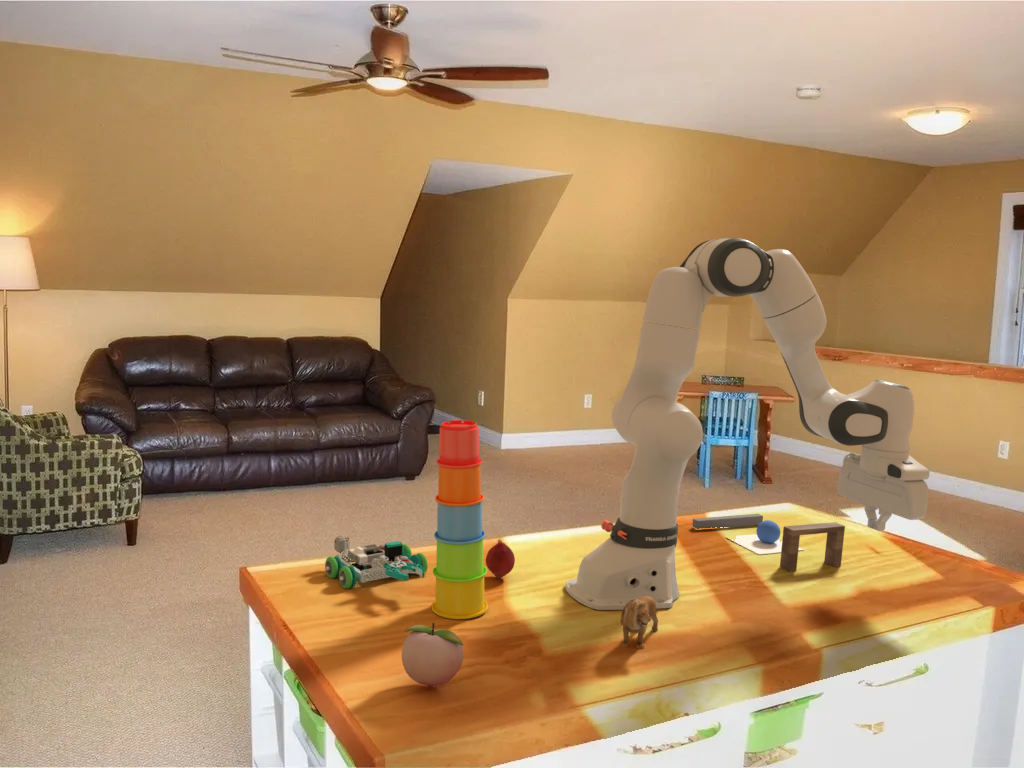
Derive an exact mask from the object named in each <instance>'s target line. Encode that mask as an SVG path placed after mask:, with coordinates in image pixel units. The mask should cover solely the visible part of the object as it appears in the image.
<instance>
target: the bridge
mask: <svg viewBox="0 0 1024 768" xmlns="http://www.w3.org/2000/svg"><path fill="white" fill-rule="evenodd" d="M845 529H846V526H845V525H843V524H841V523H839V522H836V521H835V522H834V521H833V522H820V523H808V524H797V525H785V526H783V531H782V538H781V539H782V549H781V553H780V563H779V568H781V569H783V570H786V571H787V572H797V568H798V557H799V551H798V549H799V548H800V537H801V536H804V535H818V534H819V535H820V534H826V540H825V541H826V542H825V550H824V551H825V552H824V560H823V562H824V563H825V564H827V565H829V566H832V567H834V568H835V567H841V566H842V558H843V550H844V549H843V548H844V540H845V539H844V538H845Z"/></svg>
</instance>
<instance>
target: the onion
mask: <svg viewBox="0 0 1024 768" xmlns="http://www.w3.org/2000/svg"><path fill="white" fill-rule="evenodd" d="M515 561H516V559H515V554H514V552H513V549H511V548H510V546H508V544H506V543H504V542H503V540H502V539H500V538H499V539H498V540H497V543H496V544H494V545H493V546H492V547H491V548H490V549H488V551H487V554H486V557H485V565H486V568H487V570H489V572H491V574H492V575H493V576H494V577H495V578H497V579H501V578H503V577H504V576H506V575H508V574H509V573H511V572H512V571H513V568H514V566H515V563H516V562H515Z"/></svg>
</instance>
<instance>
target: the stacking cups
mask: <svg viewBox="0 0 1024 768" xmlns="http://www.w3.org/2000/svg"><path fill="white" fill-rule="evenodd" d="M477 424H478V423H477V422H476V421H472V420H466V419H455V420H453V419H452V420H447V421H444V422H442V423H441V425H440V427H439V459H437V460H436V464H437V465H438V484H437V486H438V490H437V491H438V494H437V495H436V496H435V497H434V500H435V502H437V524H436V525H437V526H436V528H437V529H436V531H435V532H434V534H433V535H434V536H433V537H434V539H435V540H436V564H435V566H434V567H433V569H432V574H433V576H434V577H435V600H433V602H432V604H431V610H432V612H433V613H435V615H437V616H439V617H442V618H444V619H451V620H470V619H475V618H477V617H480V616H482V615H483V614H485V613H486V612H487V610H488V608H489V605H488V602H487V600H485V576H486V575H487V573H488V567H487V566H485V565H484V538H485V537H486V533H485V531H484V530H483V509H482V506H483V505H482V504H483V502H484V499H485V496H484V495H483V494H482V491H481V490H482V486H481V485H482V483H481V481H482V480H481V479H482V478H481V476H482V475H481V464H482V463H483V460H482V459H481V458H480V427H479V426H478V425H477Z"/></svg>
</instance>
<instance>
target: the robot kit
mask: <svg viewBox="0 0 1024 768" xmlns="http://www.w3.org/2000/svg"><path fill="white" fill-rule="evenodd" d="M349 539H350V537H349V536H346V537H344V536H343V535H340V536H337V537H335V539H334V543H333V544H334V548H333V549H334V550H335V551H336V552H337V553H339V554H341V555H339V554H336V555H335V556H328V557H327V558H326V560H325V562H324V563H325V564H324V569H325V573H326V576H327V577H328V578H330V579H335V578H336V577H338V579H339V583H340V586H341V587H342V588H343V589H350V588H355V587H356V585H357V582H358V581H359V582H360V583H363V584H364V583H367V582H370V581H375V580H381V579H387V578H393V579H396V580H399V581H400V580H401V581H403V582H408V581H409V574H415V575H416V576H417V575H419V578H421V579H424V578H425V574H426V572H427V571H428V567H429V566H428V559H427V557H426V555H425V554H423V553H422V552H418V553H416V554H412V549H411V548H410V546H409V545H408V544H405V543H402V542H401V541H399V540H397V541H390V542H385V543H381V544H379V545H378V546H377V544H375V543H373V544H368V545H362V546H356V547H355V548H351V547H350V546H351V542H350V541H349ZM367 566H370V567H371V568H367Z"/></svg>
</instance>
